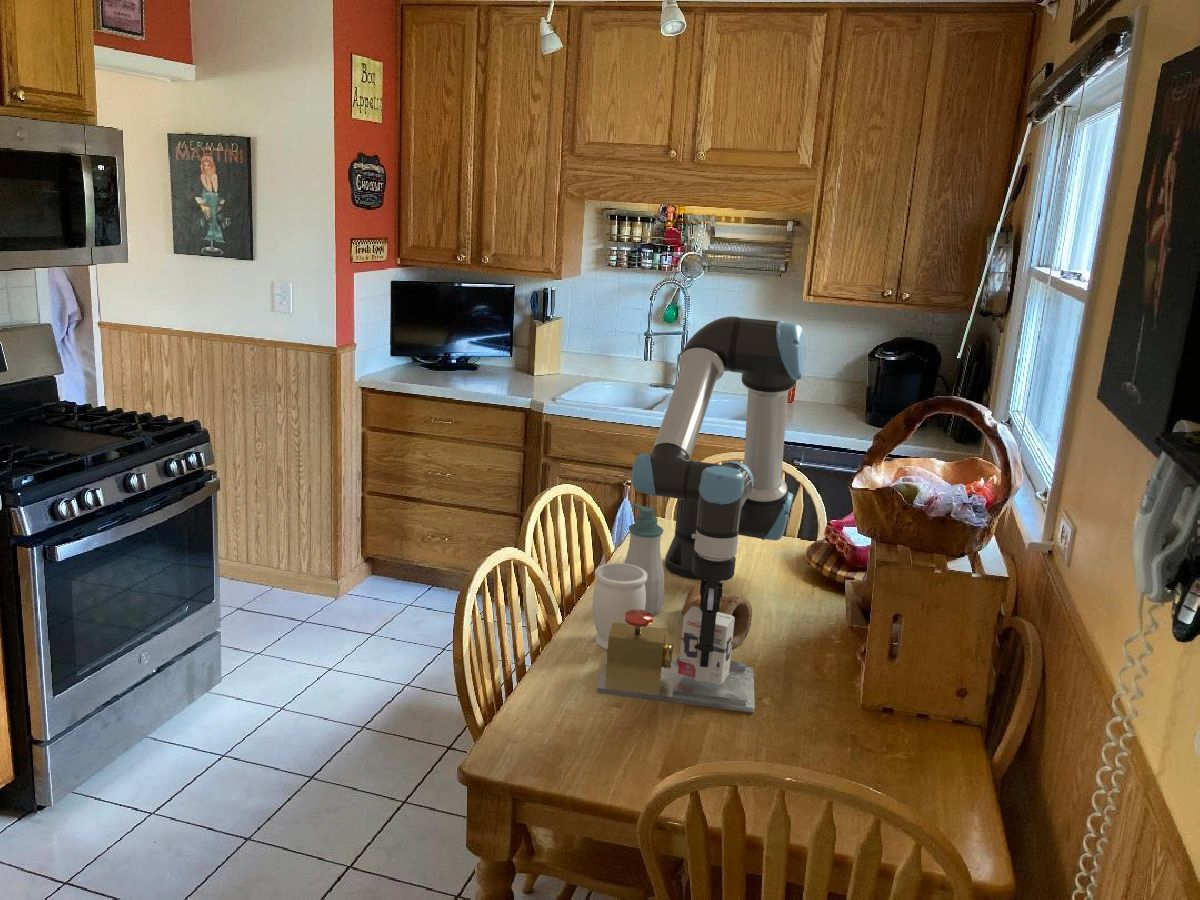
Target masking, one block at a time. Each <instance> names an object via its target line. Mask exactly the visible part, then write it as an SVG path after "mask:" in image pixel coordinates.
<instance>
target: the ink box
mask: <svg viewBox="0 0 1200 900" xmlns="http://www.w3.org/2000/svg"><path fill="white" fill-rule="evenodd" d="M682 619H683V620H682V628H681V637H680V647H679V648H680V649H679V655H680V656H679V667H678V673H679V674H683V675H687V676H690V677H694V678H695V672H696V662H697V652H698V649H694V648H695V645H698V644H699V640H700V630H701V620H702V611H701V610H700V608H699V607H691V608H690V609H689V610H688V611H687V612H686V614H685V615H684V618H683V617H682ZM734 620H735V618H734V617H733V616H732V615H728V614H724V613H720V612H717V613H716V622H715V632H714V642H713V646H714V650H713V655H712V665H711V675H710V682H711V683H715V684H718V685H721V684H722V683H723V682H724V680H725V679H726V677H727V676H728V675H729V667H730V661H731V658H732V657H731V654H732V639H733V630H734Z"/></svg>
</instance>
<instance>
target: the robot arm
mask: <svg viewBox="0 0 1200 900" xmlns="http://www.w3.org/2000/svg"><path fill="white" fill-rule="evenodd" d="M806 355H807V351H806V336H805V332H804V329H803V328H802V326H801V325H799V324H798V323H793V322H786V321H783V320H771V319H770V320H769V319H759V318H748V317H747V318H746V317H738V316H724V317H720V318H717V319H715V320H713V321H711V322H708V323H707V324H705V325H704V326H703V327H701V328H700V329H699V330H697V331H696V332H695V333H694V334H693V335H692V336H691V337H690V339H688V341H687V343H686V344H685V346H684V347H683V349H682V352H681V354H680V357H679V359H678V360H679V361H678V362H679V363H678V364H679V369H680V371H679V374H678V377H677V380H676V383H675V386H674V388H673V391H672V394H671V397H670V399H669V402H668V405H667V408H666V410H665V413H664V416H663V419H662V422H661V424H660V426H659V429H658V433H657V435H656V437H655V441H654V443H653V444H654V445H653V447H652V450H651V452H649V453H648V452H647V453H645V452H644V453H641V452H640V453H639V454H638V455H637V456H636V457H635V459H634V461H633V465H632V469H631V483H632V484H631V485H632V488H633V489H634V490H635V491H636V492H638V493H642V494H647V495H651V496H653V497H657V496H658V497H663V498H672V499H677V503H676V517H675V526H674V527H675V529H674V536H673V538H672V540H671V543H670V545H669V547H668V550H667V551H666V554H665V559H664V567H665V569H666V570H667V571H668V572H669V573H671V574H673V575H674V576H678V577H681V578H685V579H689V580H698V581H700V583H701V586H700V595H701V601H700V610H701V611H702V620H701V630H700V640H699V644H698V645H695V648H694V649H698V652H697V662H696V672H695V681H703V682H710V675H711V665H712V655H713V650H714V646H713V642H714V632H715V622H716V613H717V612H718V611H719V606H720V598H721V597H722V594H723V589H724V588H723V584H724V583H723V582H726V581H729V580H731V579H733V577H734V576H735V569H736V560H737V559H736V555H737V553H738V544H739V536H742V537H747V538H754V539H755V538H756V539H761V540H762V541H765V540H768V541H776V542H777V541H780V540H781V539H782V538H783V536H784V532H785V530H786V526H787V522H788V518H789V514H790V510H791V507H792V503H793V499H794V494H793V493H792V492H790V491H788V486H787V485H788V484H787V483H786V482H785V480H784V479H783V478H782V473H783V472H782V471H783V459H784V447H785V436H786V423H787V412H788V396H789V392H790V391H791V390H792V389H794V388H795V386H796V385H797V381H799V380H802V379H803V378H804V375H805V370H806V358H807V357H806ZM724 372H730V373H740V374H741V383H742V385H743V386H744V388H746V389H747V403H746V405H747V407H746V419H745V420H746V422H745V438H744V439H745V440H744V454H743V456H744V458H743V459H744V460H743V463H742V462H740V461H737V460H735V461H734V460H731V461H726V462H724V463H721V464H719V463H711V462H705V461H704V462H703V461H698V460H691V458H692V455H693V452H694V449H695V446H696V443H697V440H698V436H699V435H700V432H701V428H702V425H703V422H704V418H705V415H706V412H707V409H708V406H709V403H710V401H711V400H710V399H711V397H712V394H713V392H714V391H713V390H714V387H715V384H716V382H717V381H718V380H720V379H721V378H722V377H723V375H724Z"/></svg>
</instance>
